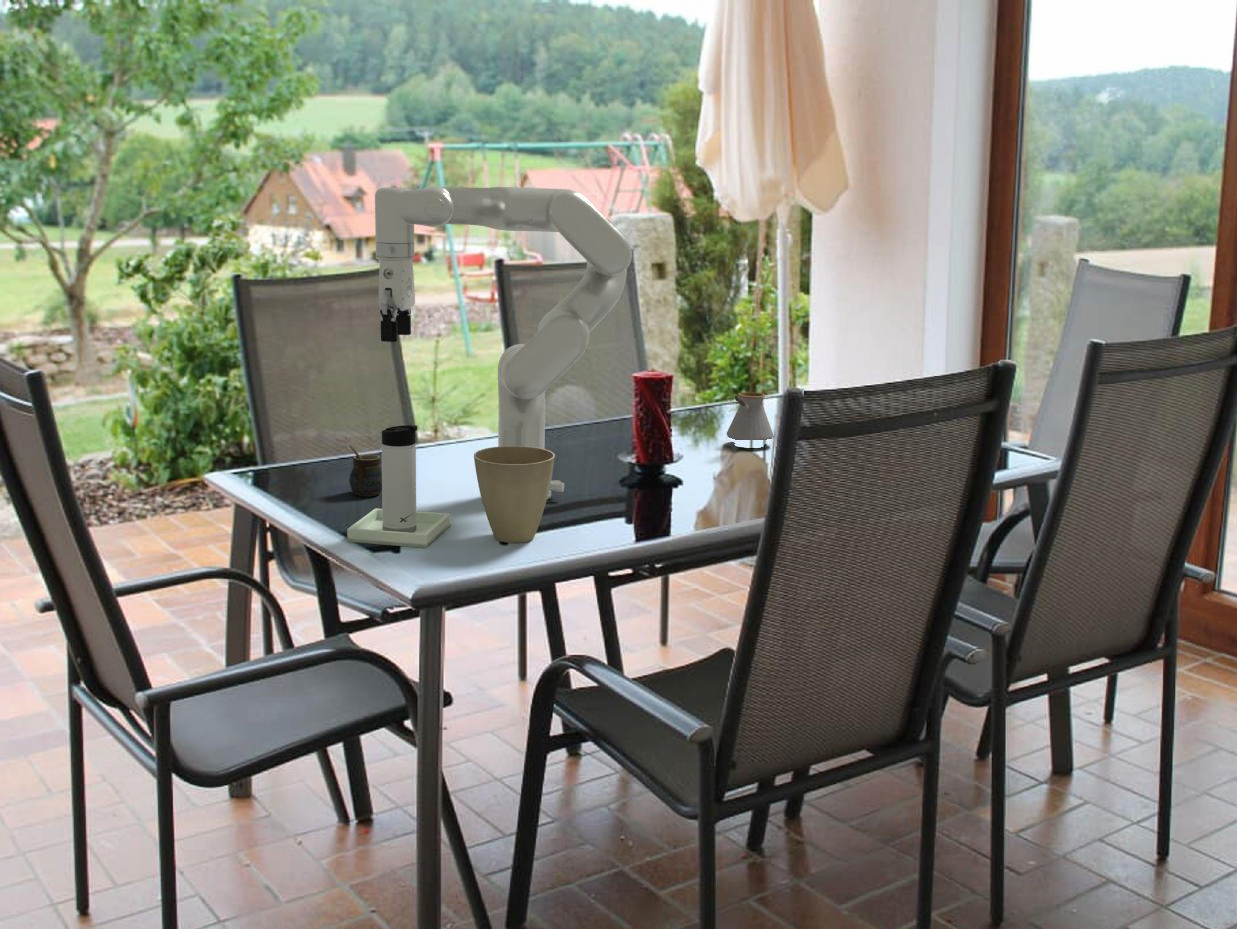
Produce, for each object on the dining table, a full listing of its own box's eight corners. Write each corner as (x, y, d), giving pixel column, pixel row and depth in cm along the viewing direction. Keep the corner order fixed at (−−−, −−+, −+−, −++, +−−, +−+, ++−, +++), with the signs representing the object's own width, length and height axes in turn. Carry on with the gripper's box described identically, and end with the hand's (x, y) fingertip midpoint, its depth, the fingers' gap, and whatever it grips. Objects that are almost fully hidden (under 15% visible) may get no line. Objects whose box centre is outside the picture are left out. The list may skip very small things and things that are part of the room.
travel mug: (411, 536, 257) (410, 429, 252) (377, 533, 258) (376, 427, 253) (422, 527, 263) (422, 423, 258) (389, 524, 264) (388, 421, 259)
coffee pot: (733, 439, 351) (736, 380, 347) (777, 443, 347) (781, 384, 343) (708, 456, 331) (711, 393, 328) (755, 461, 327) (758, 398, 324)
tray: (450, 526, 266) (450, 513, 266) (426, 547, 252) (426, 535, 251) (375, 520, 269) (375, 508, 268) (347, 541, 254) (347, 529, 254)
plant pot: (482, 524, 268) (482, 443, 264) (558, 529, 266) (560, 447, 263) (465, 546, 253) (466, 461, 250) (546, 551, 252) (548, 465, 248)
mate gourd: (377, 500, 284) (377, 452, 281) (342, 497, 285) (341, 449, 283) (389, 491, 291) (389, 444, 288) (355, 489, 292) (354, 442, 290)
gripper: (401, 255, 265) (402, 345, 269) (425, 248, 282) (425, 333, 286) (363, 254, 266) (364, 343, 270) (389, 247, 283) (390, 331, 287)
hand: (396, 338), depth 278 cm, fingers open, 9 cm apart
